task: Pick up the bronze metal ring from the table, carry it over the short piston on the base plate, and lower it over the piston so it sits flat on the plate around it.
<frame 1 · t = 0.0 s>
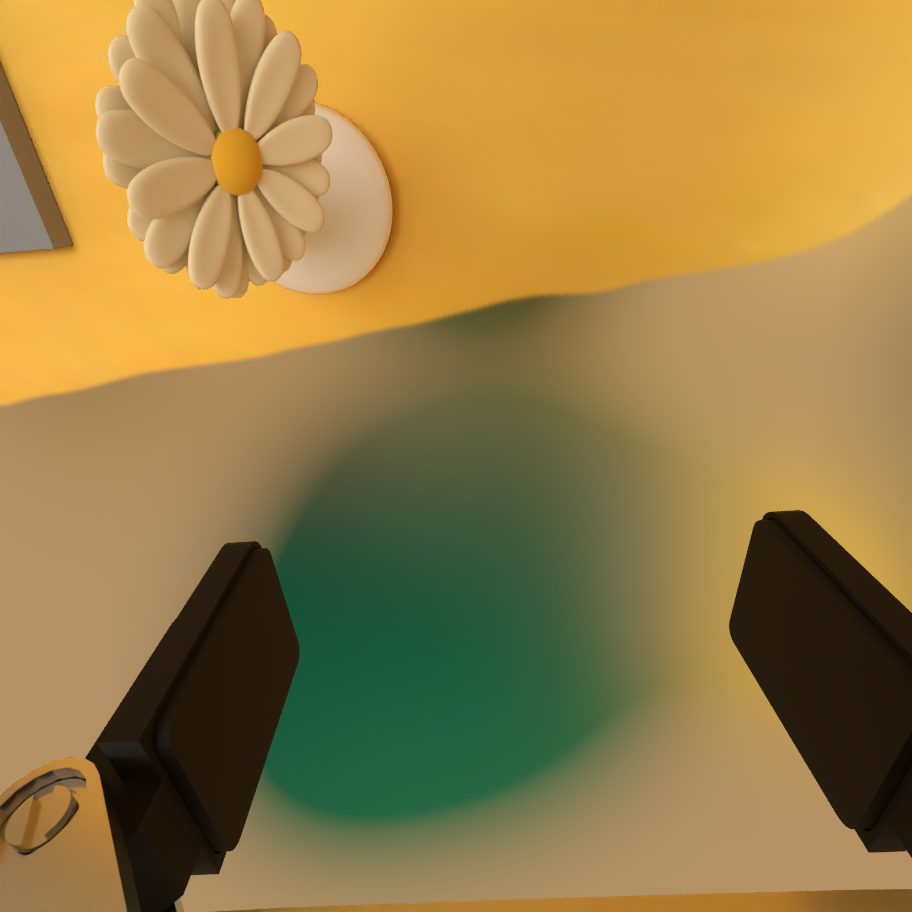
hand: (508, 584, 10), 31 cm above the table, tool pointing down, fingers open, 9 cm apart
flower in vase: (318, 192, 35), on the table
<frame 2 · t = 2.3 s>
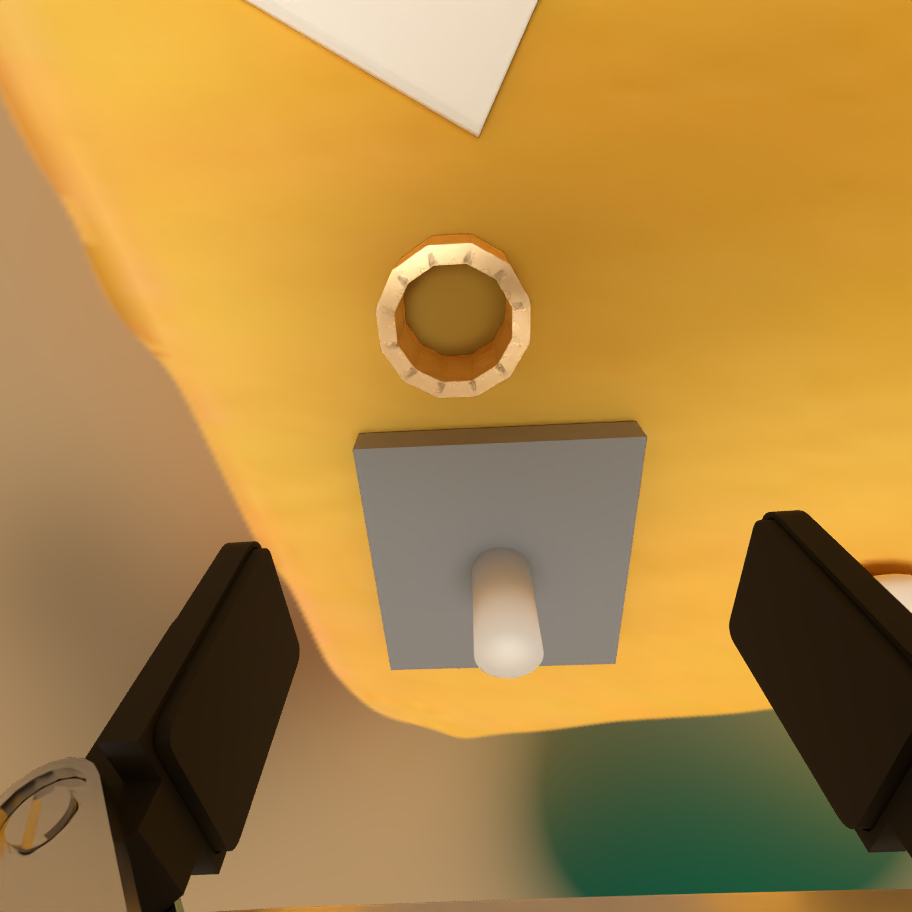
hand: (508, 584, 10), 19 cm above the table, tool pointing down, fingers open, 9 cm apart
flower in vase: (864, 611, 36), on the table
piston stand: (498, 549, 34), on the table
bronze ring: (455, 306, 26), on the table
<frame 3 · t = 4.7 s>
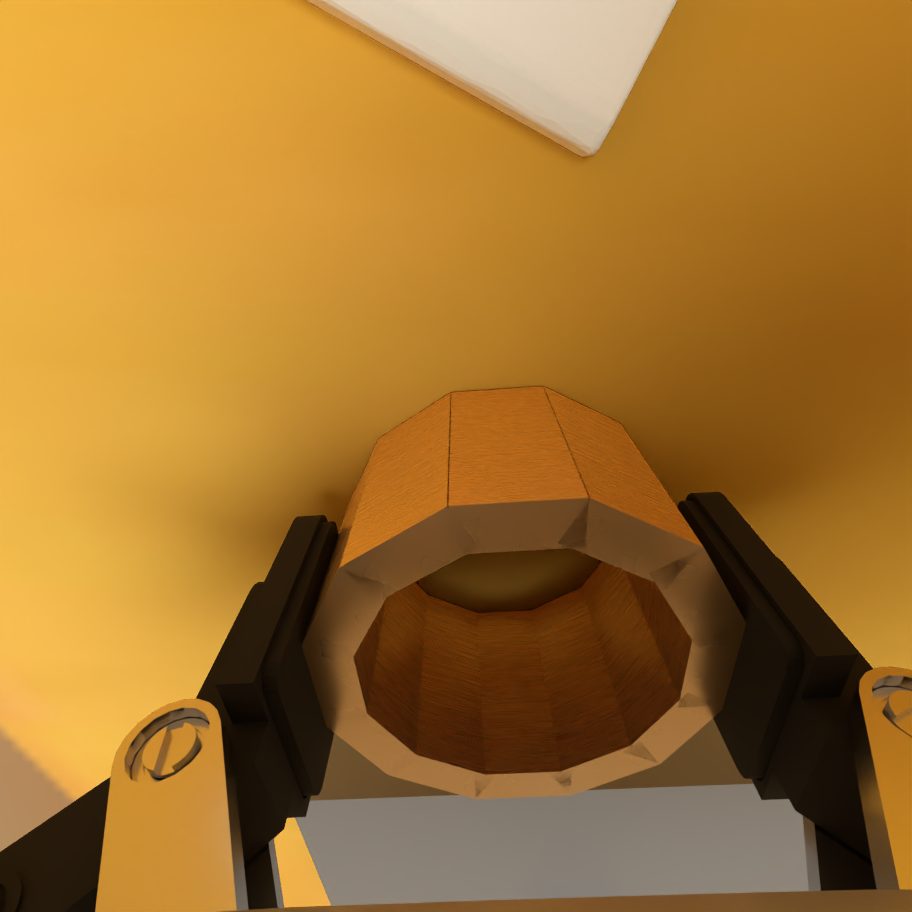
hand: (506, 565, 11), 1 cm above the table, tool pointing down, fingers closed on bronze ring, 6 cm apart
piston stand: (567, 868, 19), on the table
bronze ring: (501, 528, 12), on the table, touching gripper
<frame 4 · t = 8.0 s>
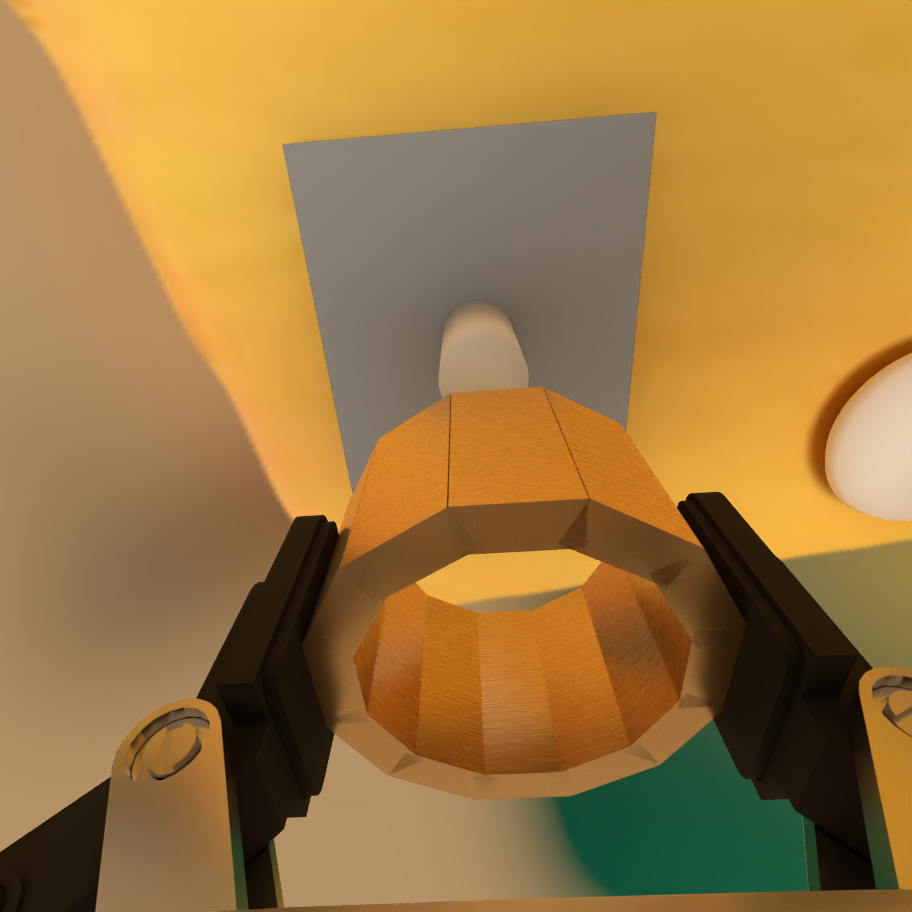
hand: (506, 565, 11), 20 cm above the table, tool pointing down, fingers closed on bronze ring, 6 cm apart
piston stand: (476, 326, 28), on the table
bronze ring: (501, 528, 12), point 18 cm above the table, touching gripper
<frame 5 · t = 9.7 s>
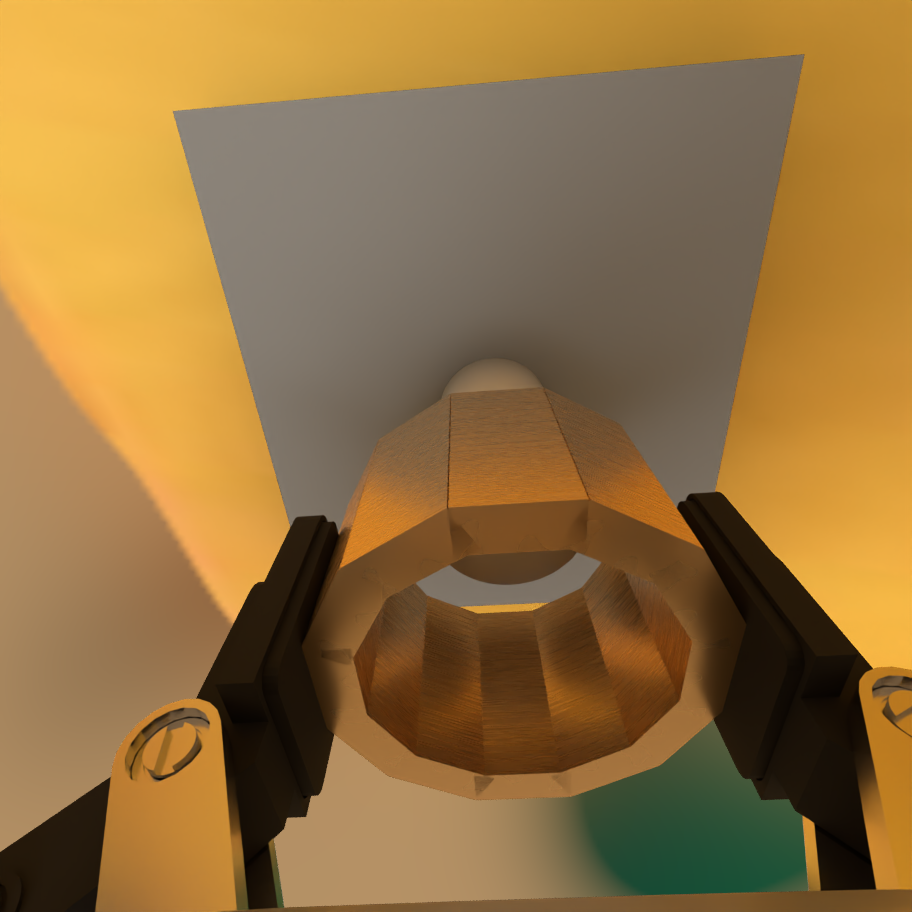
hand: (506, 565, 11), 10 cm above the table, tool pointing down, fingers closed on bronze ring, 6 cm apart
piston stand: (490, 387, 19), on the table
bronze ring: (501, 529, 12), point 8 cm above the table, touching gripper
when the fingers open (5 cm above the table, at t = 11.2 s): bronze ring drops 1 cm, resting on piston stand.
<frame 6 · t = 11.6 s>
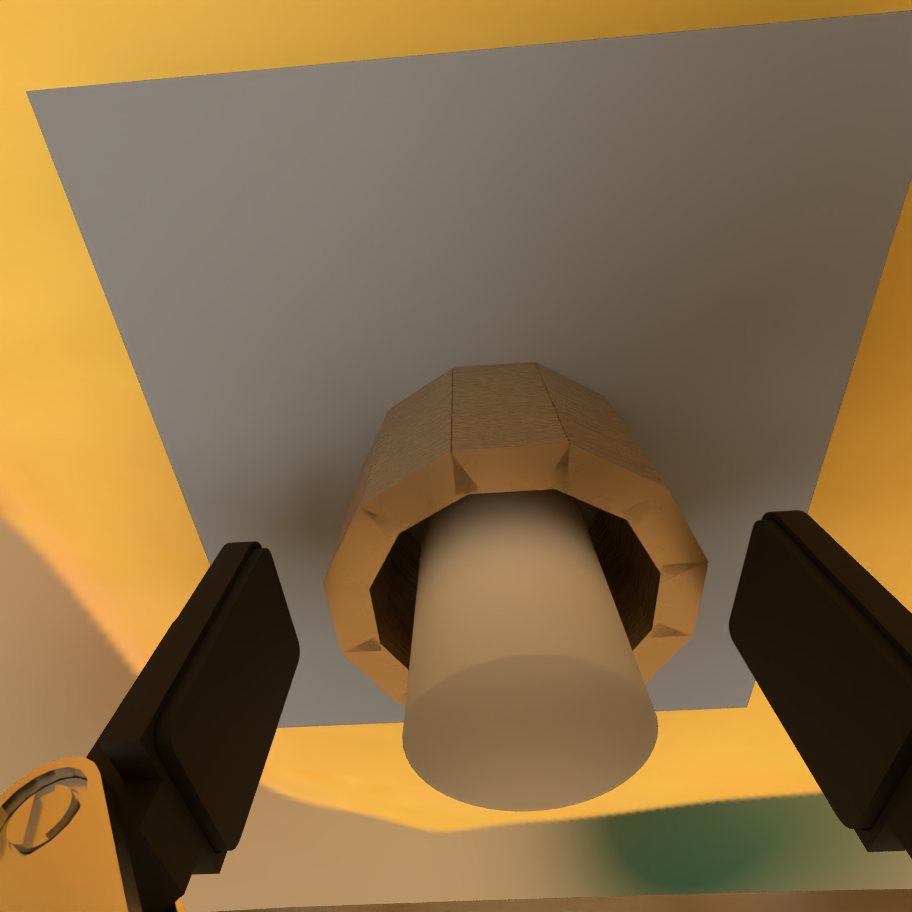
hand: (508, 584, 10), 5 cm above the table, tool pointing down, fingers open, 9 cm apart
piston stand: (492, 456, 15), on the table
bronze ring: (498, 493, 13), point 2 cm above the table, touching piston stand
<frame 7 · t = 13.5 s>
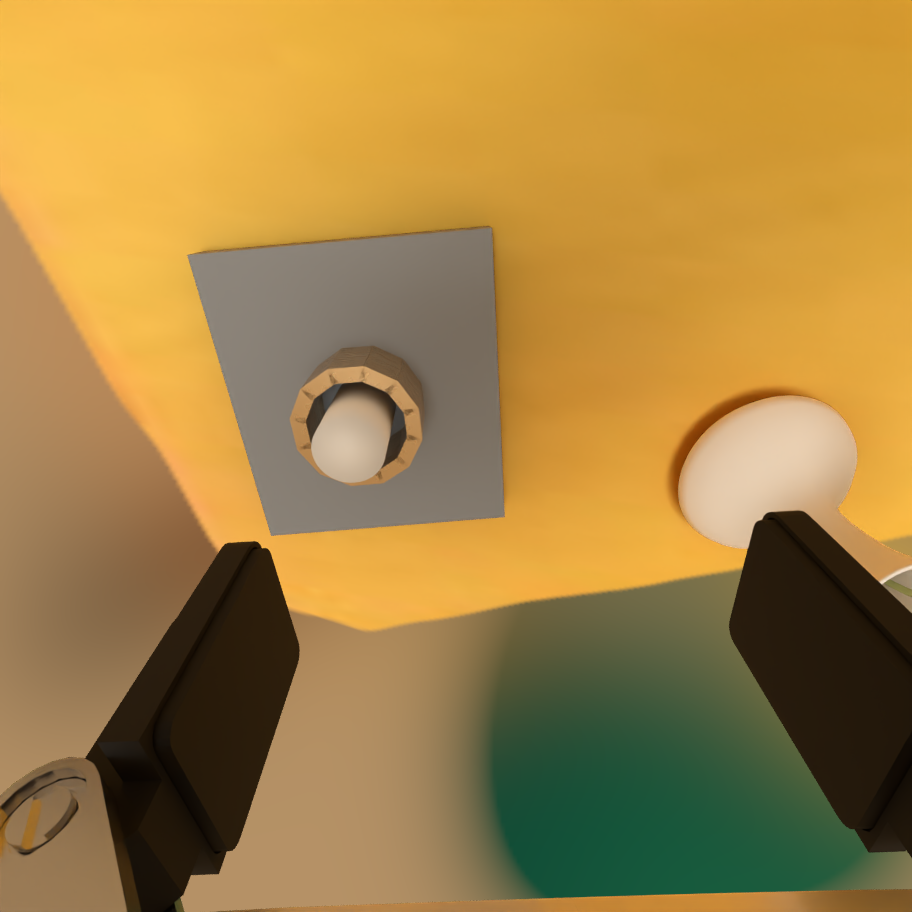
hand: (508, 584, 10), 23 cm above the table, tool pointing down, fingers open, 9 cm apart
flower in vase: (758, 454, 35), on the table
piston stand: (370, 391, 32), on the table
bronze ring: (366, 402, 31), point 2 cm above the table, touching piston stand
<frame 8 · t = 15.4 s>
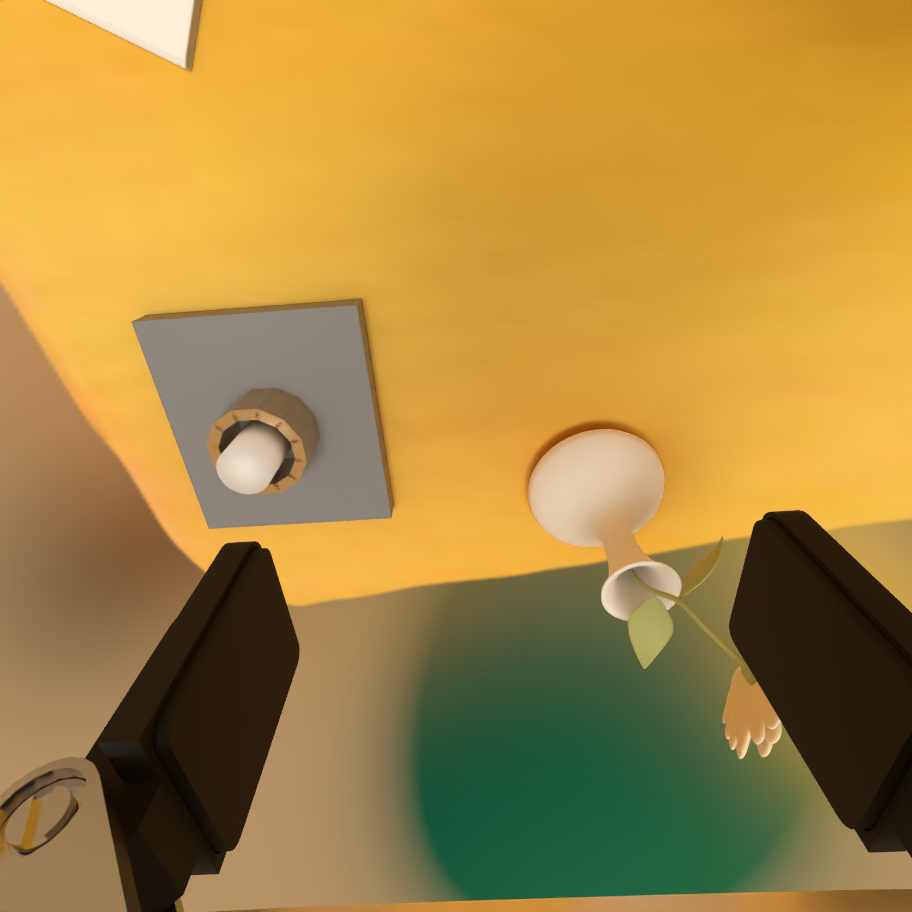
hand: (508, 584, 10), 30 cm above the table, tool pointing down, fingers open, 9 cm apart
flower in vase: (597, 472, 44), on the table
piston stand: (282, 419, 42), on the table
bronze ring: (274, 429, 40), point 2 cm above the table, touching piston stand
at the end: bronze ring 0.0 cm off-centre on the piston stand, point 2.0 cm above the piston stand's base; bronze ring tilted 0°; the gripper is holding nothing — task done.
